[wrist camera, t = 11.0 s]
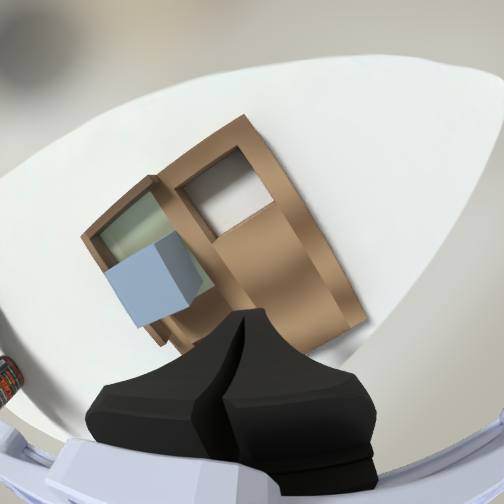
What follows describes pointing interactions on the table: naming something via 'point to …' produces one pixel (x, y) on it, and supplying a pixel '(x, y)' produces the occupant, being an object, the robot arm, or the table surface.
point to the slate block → (155, 280)
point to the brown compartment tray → (234, 250)
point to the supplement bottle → (8, 380)
